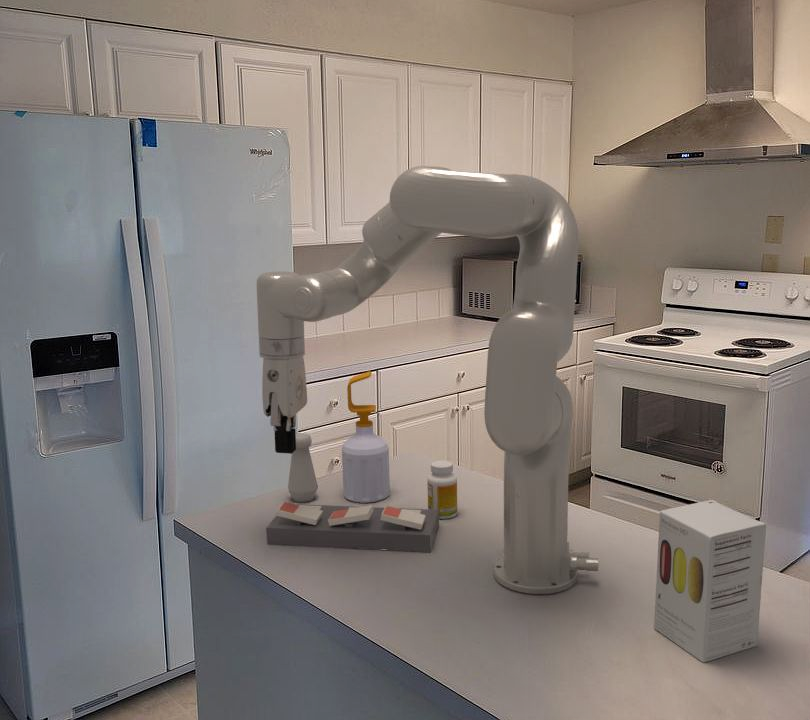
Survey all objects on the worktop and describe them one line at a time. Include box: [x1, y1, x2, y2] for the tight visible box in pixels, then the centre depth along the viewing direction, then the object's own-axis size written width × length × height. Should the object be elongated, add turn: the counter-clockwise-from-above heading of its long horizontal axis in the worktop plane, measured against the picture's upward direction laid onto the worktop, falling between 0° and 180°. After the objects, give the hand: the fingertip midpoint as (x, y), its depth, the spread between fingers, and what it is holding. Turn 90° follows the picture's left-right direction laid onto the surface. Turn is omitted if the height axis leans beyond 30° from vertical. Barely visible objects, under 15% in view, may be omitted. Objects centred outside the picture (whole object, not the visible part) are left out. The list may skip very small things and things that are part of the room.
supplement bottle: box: [427, 460, 458, 520], centre depth 148 cm, size 5×5×10 cm
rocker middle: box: [328, 504, 374, 526], centre depth 138 cm, size 7×4×1 cm, turn 80°
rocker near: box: [380, 505, 426, 530], centre depth 136 cm, size 7×4×1 cm, turn 81°
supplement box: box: [653, 499, 767, 663], centre depth 104 cm, size 10×9×17 cm
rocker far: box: [275, 501, 323, 525], centre depth 139 cm, size 7×4×1 cm, turn 81°
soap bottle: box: [341, 370, 391, 504], centre depth 157 cm, size 9×9×25 cm
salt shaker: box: [287, 432, 319, 503], centre depth 157 cm, size 6×6×13 cm
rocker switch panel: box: [265, 503, 440, 553], centre depth 140 cm, size 28×11×4 cm, turn 80°
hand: (285, 451), depth 139 cm, fingers closed
